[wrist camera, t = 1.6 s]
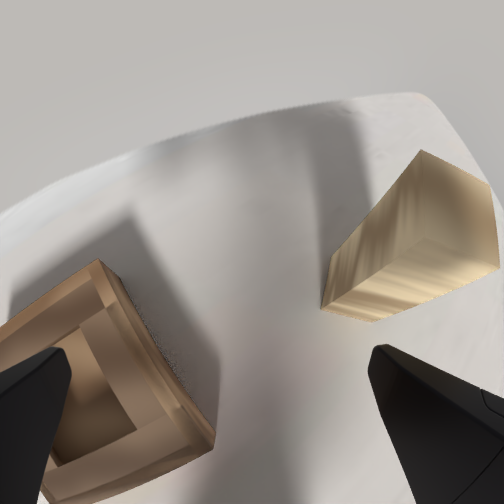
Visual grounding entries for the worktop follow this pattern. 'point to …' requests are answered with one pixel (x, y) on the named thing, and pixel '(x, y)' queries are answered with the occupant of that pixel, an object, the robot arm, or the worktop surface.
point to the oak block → (415, 243)
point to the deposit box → (106, 391)
